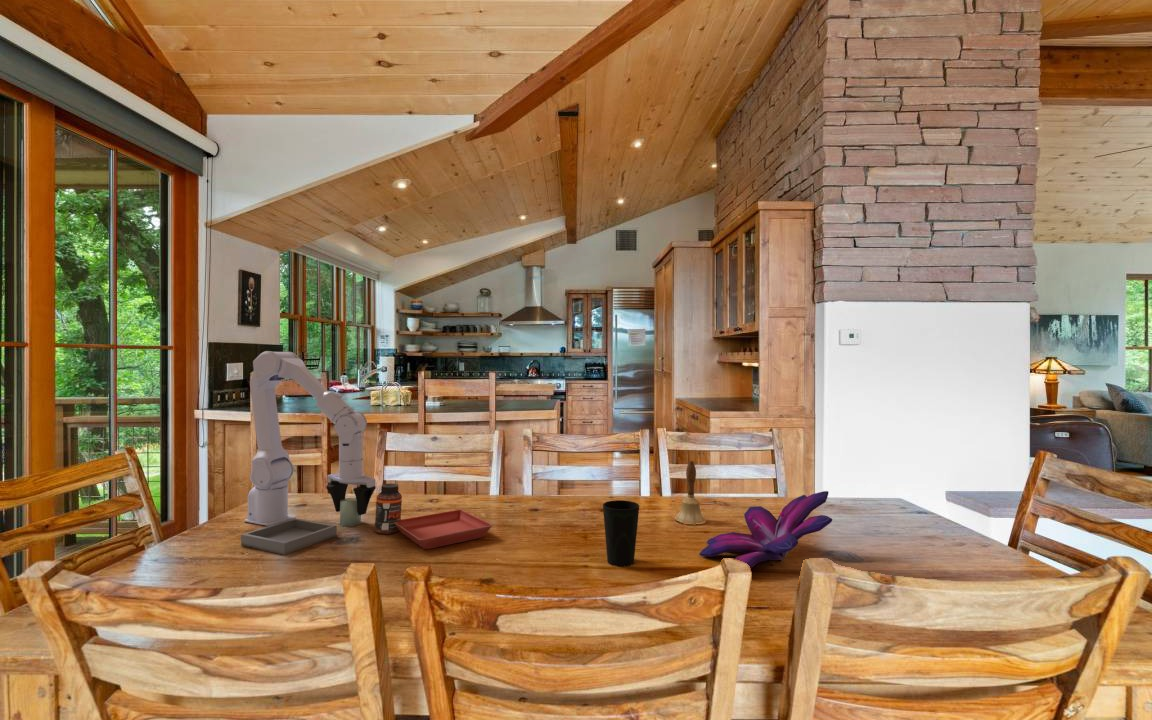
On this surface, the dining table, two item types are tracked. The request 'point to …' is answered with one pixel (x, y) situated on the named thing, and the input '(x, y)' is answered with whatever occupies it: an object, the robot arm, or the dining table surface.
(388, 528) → the supplement bottle
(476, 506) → the dining table surface
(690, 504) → the hand bell
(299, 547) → the tray
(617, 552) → the cup
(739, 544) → the decorative flower
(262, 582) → the dining table surface
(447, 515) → the plant saucer
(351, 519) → the green cylinder
